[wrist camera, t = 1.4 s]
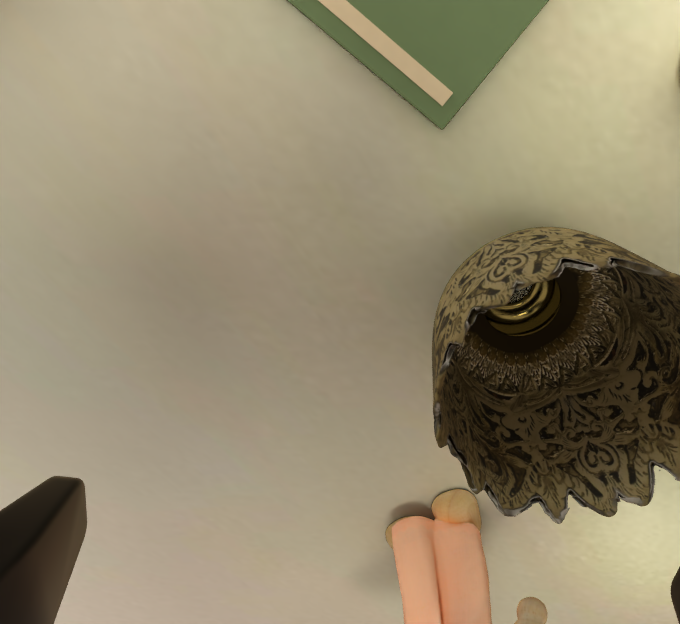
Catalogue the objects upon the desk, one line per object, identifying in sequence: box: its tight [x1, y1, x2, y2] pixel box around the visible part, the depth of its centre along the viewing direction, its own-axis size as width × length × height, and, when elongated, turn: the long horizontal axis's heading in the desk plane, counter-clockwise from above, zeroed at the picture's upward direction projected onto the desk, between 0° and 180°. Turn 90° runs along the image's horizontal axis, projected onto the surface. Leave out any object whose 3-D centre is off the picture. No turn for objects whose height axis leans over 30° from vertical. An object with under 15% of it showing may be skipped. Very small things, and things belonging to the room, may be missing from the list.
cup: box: [432, 227, 680, 524], centre depth 18 cm, size 8×7×8 cm
